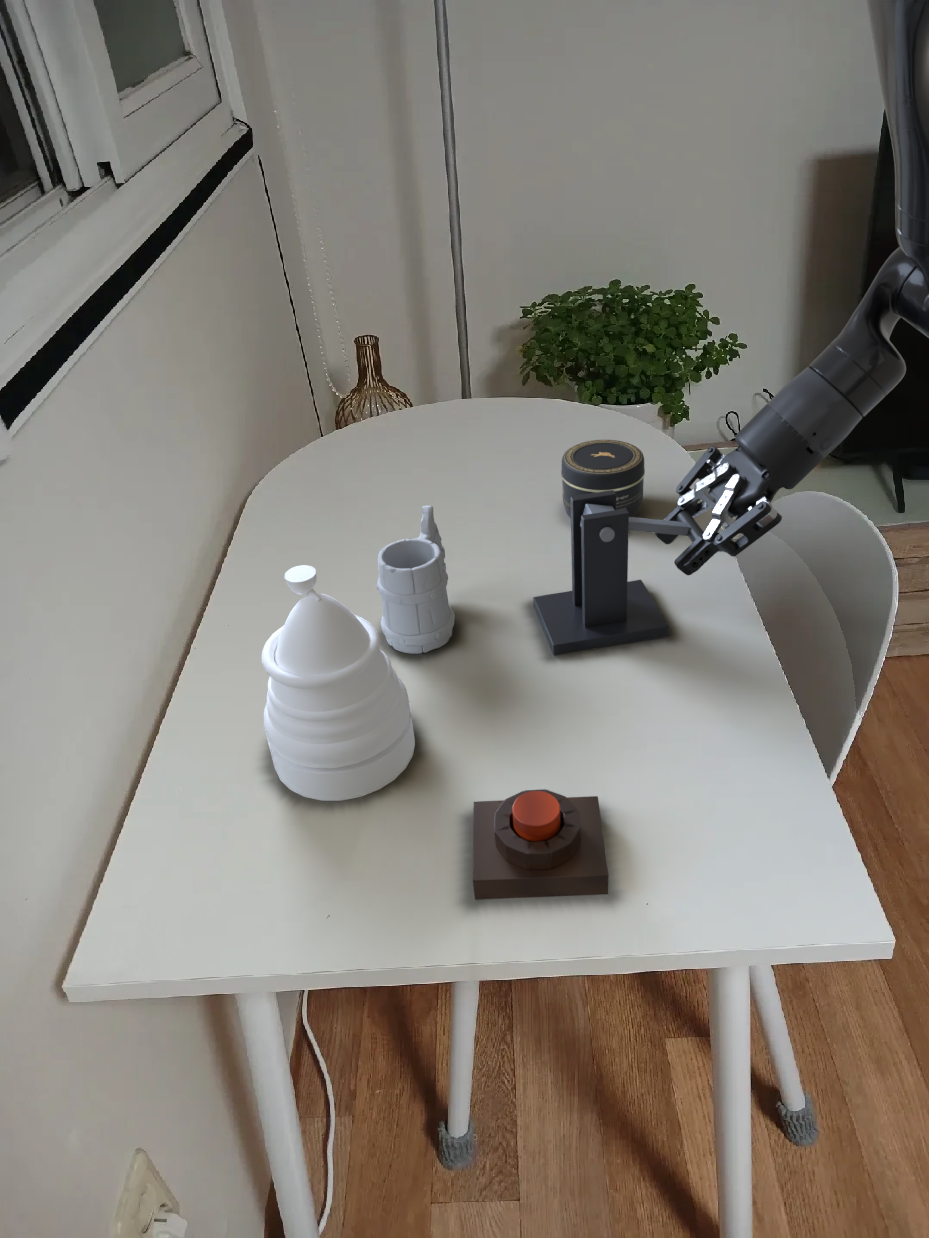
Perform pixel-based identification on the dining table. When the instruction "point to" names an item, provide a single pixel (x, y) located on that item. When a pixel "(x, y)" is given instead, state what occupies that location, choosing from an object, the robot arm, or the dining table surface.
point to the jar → (604, 473)
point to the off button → (536, 816)
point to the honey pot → (333, 700)
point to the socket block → (539, 852)
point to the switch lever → (656, 523)
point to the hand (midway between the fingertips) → (670, 553)
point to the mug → (415, 590)
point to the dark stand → (599, 586)
